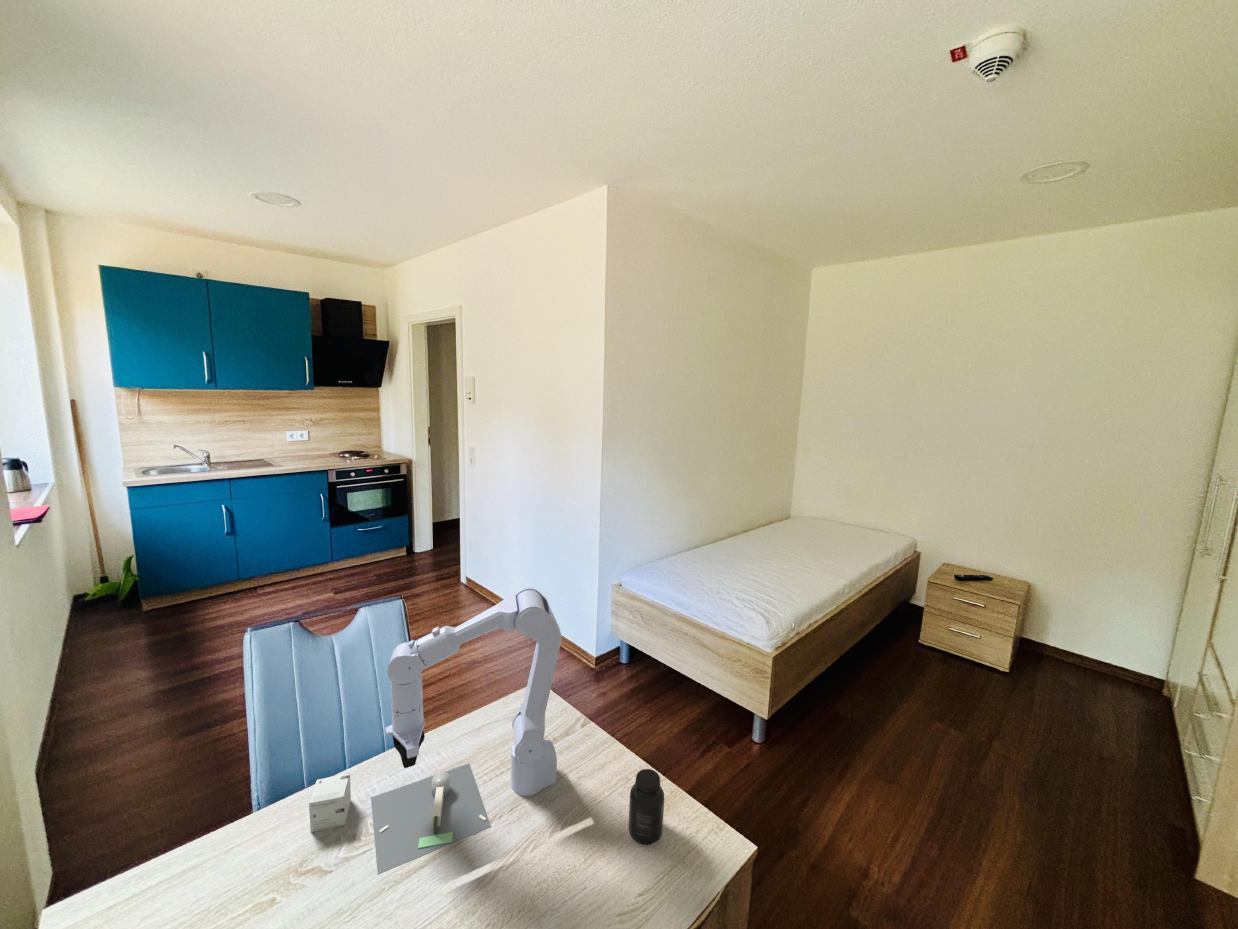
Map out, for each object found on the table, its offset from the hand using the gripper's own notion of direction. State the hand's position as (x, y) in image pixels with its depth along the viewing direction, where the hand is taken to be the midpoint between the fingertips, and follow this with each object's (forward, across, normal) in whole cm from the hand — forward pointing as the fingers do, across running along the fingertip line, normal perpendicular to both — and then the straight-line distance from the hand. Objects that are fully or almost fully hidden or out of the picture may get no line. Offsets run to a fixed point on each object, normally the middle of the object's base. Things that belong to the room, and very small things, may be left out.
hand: (409, 764), depth 99 cm
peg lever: (+9, +4, +5) cm, 11 cm away
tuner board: (+10, +4, +3) cm, 11 cm away
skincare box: (+10, -4, -14) cm, 18 cm away
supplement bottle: (+10, +27, +40) cm, 49 cm away
